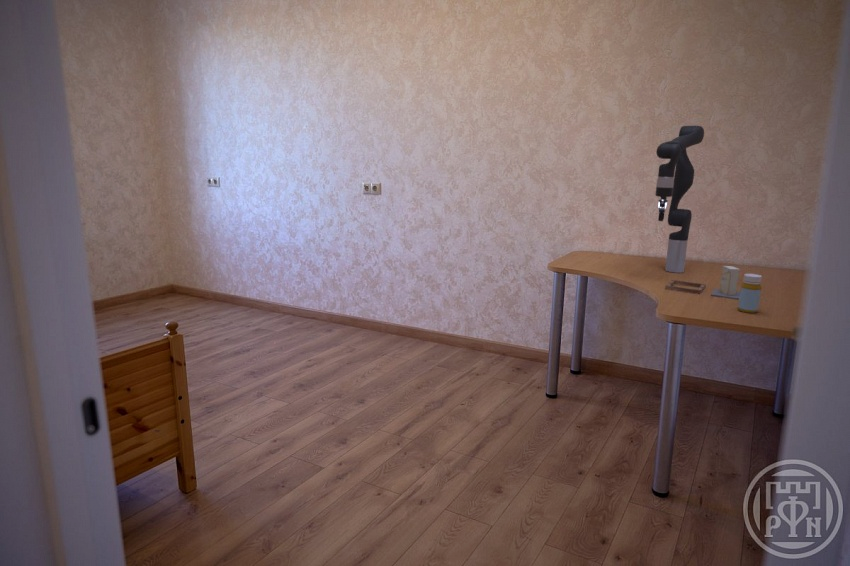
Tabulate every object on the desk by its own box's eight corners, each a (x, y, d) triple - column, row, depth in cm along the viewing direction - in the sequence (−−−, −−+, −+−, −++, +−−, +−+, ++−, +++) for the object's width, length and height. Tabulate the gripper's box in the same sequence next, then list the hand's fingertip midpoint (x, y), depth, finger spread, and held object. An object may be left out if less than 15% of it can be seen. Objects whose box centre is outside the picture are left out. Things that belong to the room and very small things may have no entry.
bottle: (755, 309, 231) (760, 274, 227) (759, 314, 225) (764, 277, 221) (736, 307, 233) (741, 272, 230) (739, 312, 227) (745, 276, 223)
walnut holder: (671, 282, 274) (672, 279, 274) (705, 287, 266) (705, 284, 266) (665, 289, 262) (665, 285, 262) (699, 294, 254) (700, 290, 254)
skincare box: (718, 291, 256) (722, 265, 253) (727, 291, 257) (731, 265, 254) (726, 295, 250) (730, 268, 247) (736, 295, 250) (740, 268, 248)
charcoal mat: (715, 289, 262) (715, 288, 262) (744, 293, 256) (744, 292, 255) (710, 295, 252) (711, 294, 251) (741, 300, 245) (741, 298, 245)
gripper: (673, 187, 261) (668, 222, 265) (673, 185, 274) (669, 218, 278) (655, 187, 264) (651, 221, 268) (657, 185, 277) (653, 217, 281)
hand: (661, 220), depth 273 cm, fingers open, 8 cm apart
